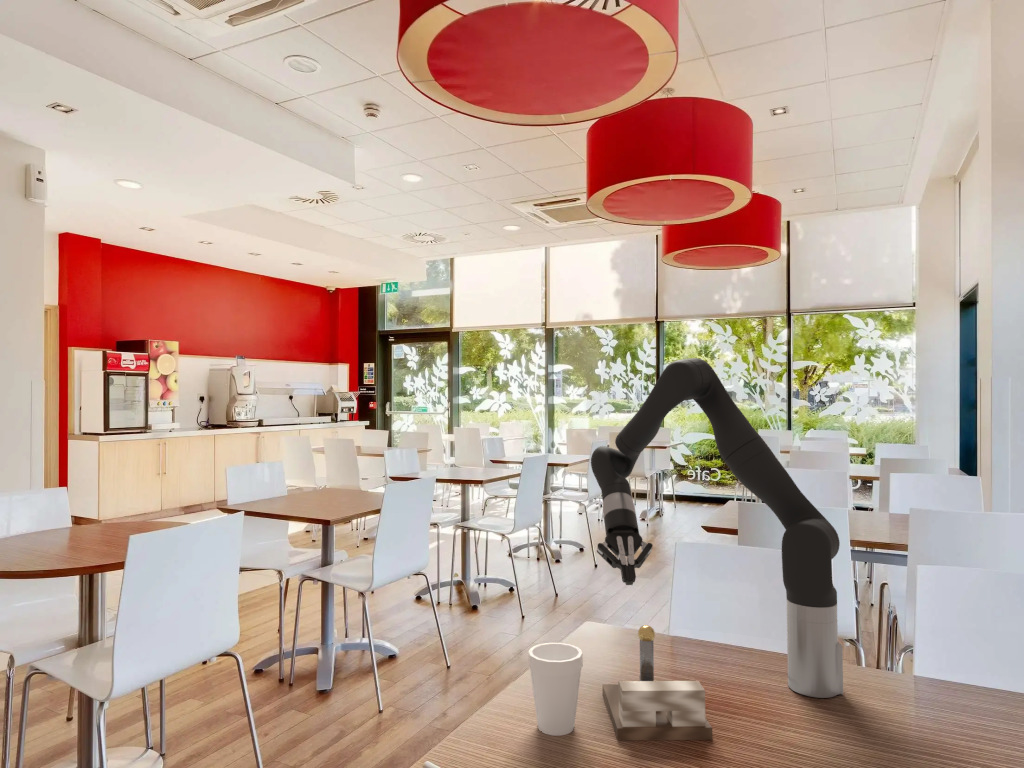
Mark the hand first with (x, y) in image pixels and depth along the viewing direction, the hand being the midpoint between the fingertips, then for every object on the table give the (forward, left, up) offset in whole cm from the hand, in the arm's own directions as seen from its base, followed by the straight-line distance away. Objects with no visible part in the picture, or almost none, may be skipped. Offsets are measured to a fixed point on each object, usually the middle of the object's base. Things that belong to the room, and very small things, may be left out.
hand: (629, 583), depth 147 cm
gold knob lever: (0, +20, -16) cm, 25 cm away
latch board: (0, +23, -18) cm, 29 cm away
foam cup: (+18, +27, -18) cm, 37 cm away
